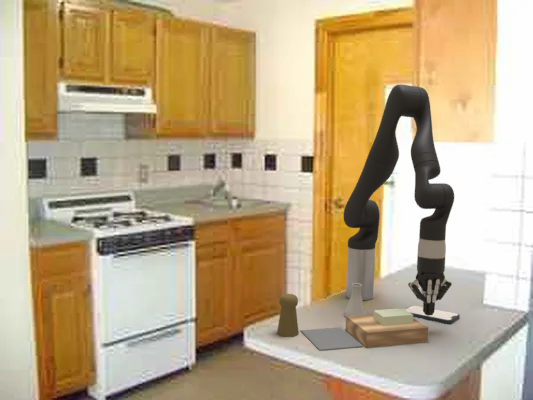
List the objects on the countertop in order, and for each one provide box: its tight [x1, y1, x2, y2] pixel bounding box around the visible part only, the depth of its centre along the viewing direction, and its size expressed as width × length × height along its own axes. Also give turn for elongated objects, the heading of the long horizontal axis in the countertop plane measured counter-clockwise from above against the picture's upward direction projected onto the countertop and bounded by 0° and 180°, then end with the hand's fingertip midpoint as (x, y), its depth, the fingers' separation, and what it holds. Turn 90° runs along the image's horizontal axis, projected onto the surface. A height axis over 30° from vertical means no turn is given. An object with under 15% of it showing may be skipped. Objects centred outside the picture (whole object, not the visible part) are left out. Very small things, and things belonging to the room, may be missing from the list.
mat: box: [300, 326, 364, 352], centre depth 161 cm, size 15×12×1 cm
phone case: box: [403, 305, 461, 325], centre depth 183 cm, size 9×2×16 cm
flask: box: [343, 283, 368, 318], centre depth 181 cm, size 7×7×10 cm
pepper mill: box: [277, 293, 300, 338], centre depth 164 cm, size 6×6×11 cm
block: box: [372, 307, 414, 326], centre depth 164 cm, size 6×9×2 cm, turn 106°
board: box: [345, 313, 429, 348], centre depth 164 cm, size 14×18×4 cm
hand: (428, 314), depth 167 cm, fingers closed
